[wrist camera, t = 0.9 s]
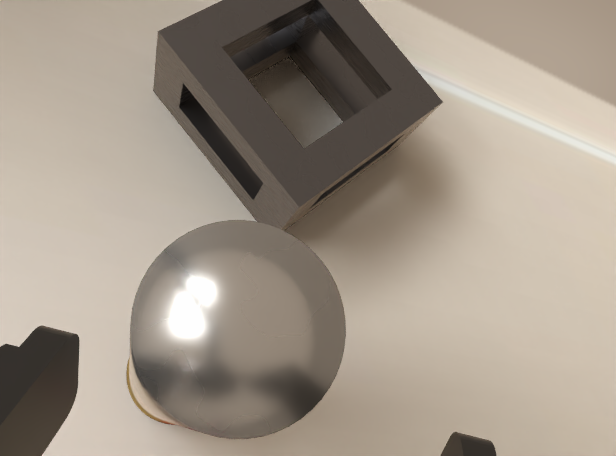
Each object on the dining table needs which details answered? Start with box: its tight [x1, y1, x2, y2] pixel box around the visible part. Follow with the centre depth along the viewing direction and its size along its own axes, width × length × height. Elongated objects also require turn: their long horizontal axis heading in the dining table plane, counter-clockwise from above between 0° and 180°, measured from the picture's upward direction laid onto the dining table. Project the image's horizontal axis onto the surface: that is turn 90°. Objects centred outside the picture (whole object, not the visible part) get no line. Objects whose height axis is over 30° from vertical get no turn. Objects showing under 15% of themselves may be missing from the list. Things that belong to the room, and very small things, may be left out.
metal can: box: [127, 220, 346, 439], centre depth 19 cm, size 5×5×18 cm
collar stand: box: [153, 0, 443, 231], centre depth 31 cm, size 11×11×6 cm
